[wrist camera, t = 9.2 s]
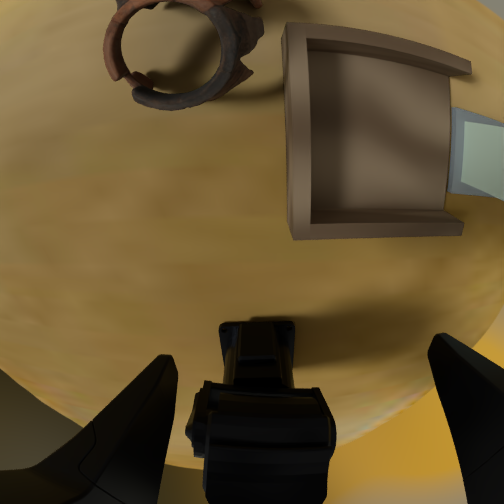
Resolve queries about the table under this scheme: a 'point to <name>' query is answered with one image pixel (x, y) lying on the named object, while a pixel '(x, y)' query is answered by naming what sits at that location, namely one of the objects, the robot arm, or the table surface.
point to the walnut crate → (366, 134)
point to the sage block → (484, 158)
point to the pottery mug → (231, 68)
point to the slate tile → (458, 148)
